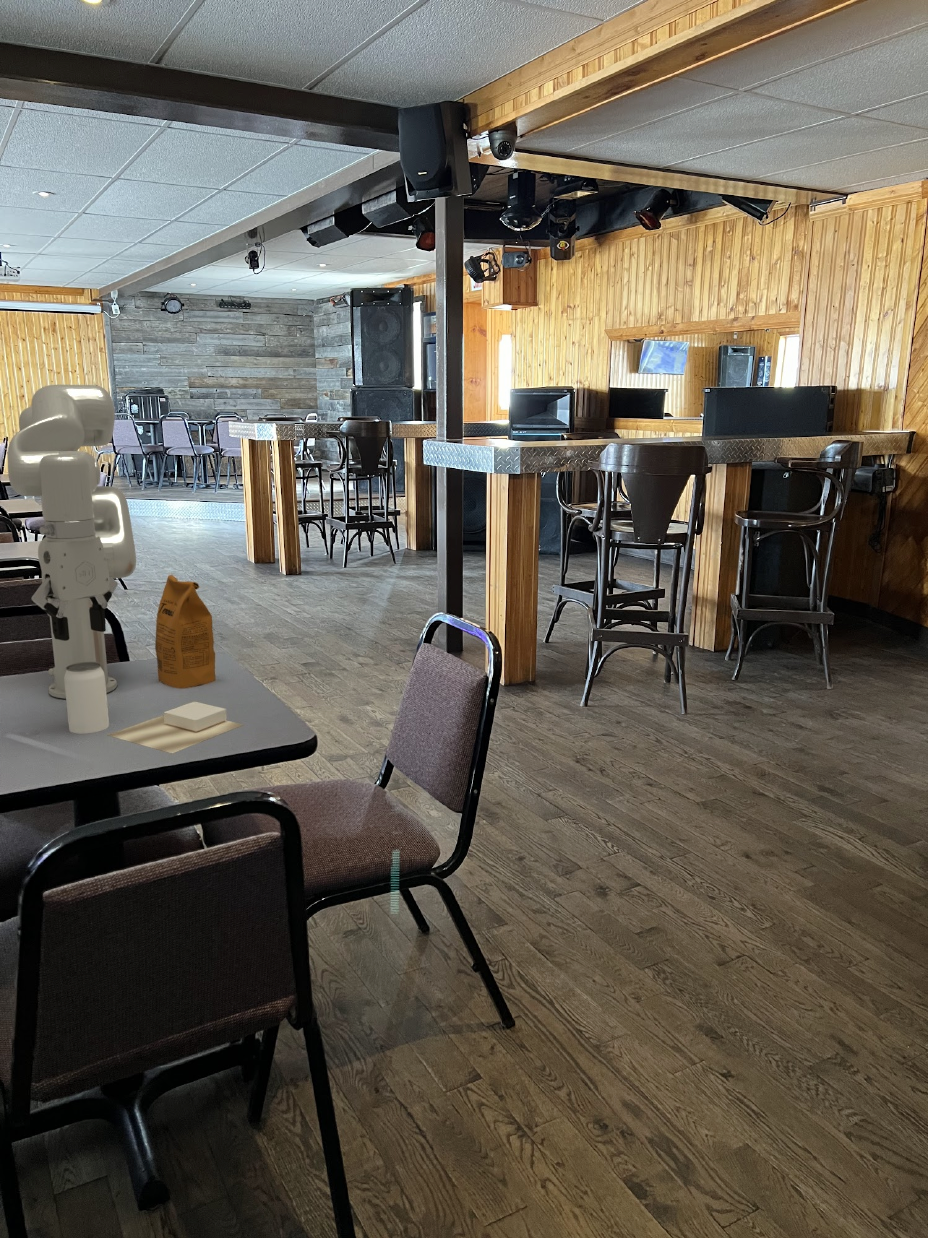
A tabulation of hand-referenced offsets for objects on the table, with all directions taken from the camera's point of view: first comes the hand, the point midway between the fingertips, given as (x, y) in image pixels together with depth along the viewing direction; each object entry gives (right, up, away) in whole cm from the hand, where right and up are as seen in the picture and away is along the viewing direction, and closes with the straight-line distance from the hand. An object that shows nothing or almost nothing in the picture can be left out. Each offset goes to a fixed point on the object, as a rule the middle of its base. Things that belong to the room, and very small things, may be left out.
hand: (80, 634), depth 157 cm
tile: (+15, -14, +8) cm, 22 cm away
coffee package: (+8, -11, +32) cm, 35 cm away
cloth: (+16, -18, +3) cm, 24 cm away
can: (0, -17, +4) cm, 18 cm away
